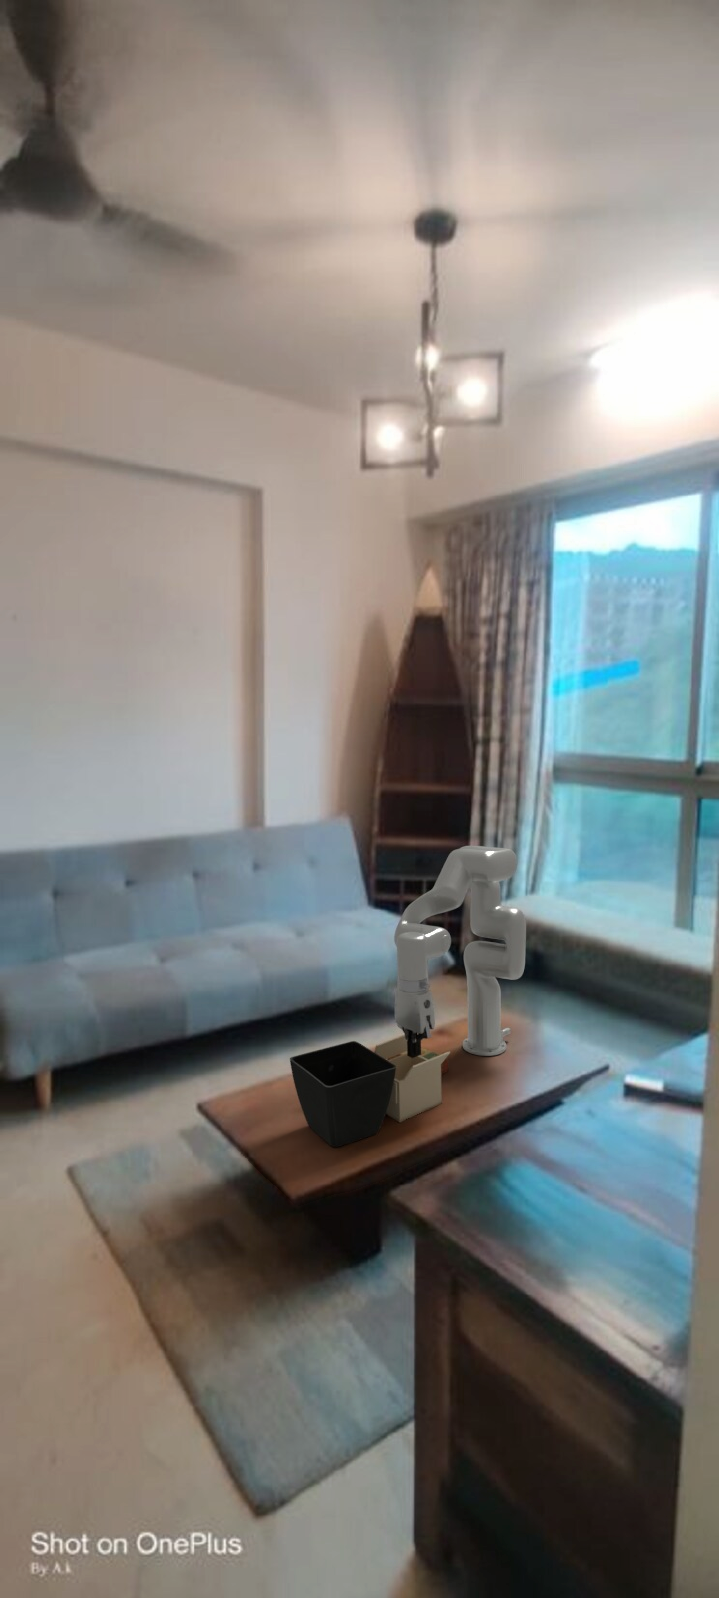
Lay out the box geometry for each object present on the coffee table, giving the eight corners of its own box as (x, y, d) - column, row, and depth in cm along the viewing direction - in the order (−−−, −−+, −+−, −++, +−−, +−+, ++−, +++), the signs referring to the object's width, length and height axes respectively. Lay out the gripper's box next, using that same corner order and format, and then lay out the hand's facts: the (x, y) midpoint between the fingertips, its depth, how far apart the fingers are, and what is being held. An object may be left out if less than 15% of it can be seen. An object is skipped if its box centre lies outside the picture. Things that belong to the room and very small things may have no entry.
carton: (407, 1054, 229) (407, 1040, 228) (449, 1071, 217) (449, 1056, 217) (386, 1063, 223) (386, 1048, 223) (428, 1081, 211) (428, 1066, 211)
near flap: (449, 1051, 193) (450, 1052, 193) (439, 1064, 197) (440, 1065, 197) (412, 1066, 186) (413, 1067, 186) (402, 1079, 189) (403, 1080, 189)
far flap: (408, 1050, 206) (407, 1049, 206) (413, 1032, 203) (412, 1031, 204) (372, 1064, 198) (371, 1063, 198) (377, 1045, 196) (376, 1044, 196)
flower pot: (356, 1102, 200) (354, 1038, 199) (399, 1134, 185) (398, 1065, 183) (289, 1124, 190) (287, 1057, 189) (329, 1160, 175) (327, 1087, 173)
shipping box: (413, 1087, 207) (412, 1051, 206) (442, 1102, 199) (442, 1064, 198) (369, 1106, 198) (368, 1068, 197) (398, 1123, 190) (397, 1083, 189)
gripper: (445, 987, 189) (446, 1060, 191) (403, 972, 201) (404, 1042, 203) (423, 995, 184) (424, 1070, 187) (381, 979, 196) (382, 1050, 198)
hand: (414, 1055), depth 195 cm, fingers closed
